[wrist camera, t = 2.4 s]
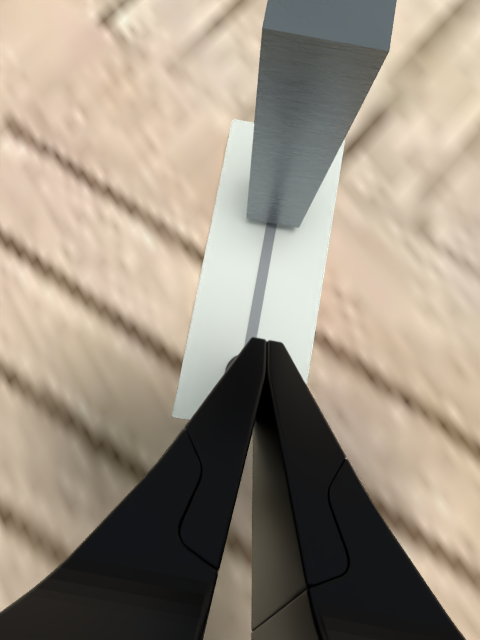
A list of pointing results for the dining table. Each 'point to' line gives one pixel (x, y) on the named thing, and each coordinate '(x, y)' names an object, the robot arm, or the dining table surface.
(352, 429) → the dining table surface
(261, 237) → the bolt plate
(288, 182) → the gray metal block
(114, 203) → the dining table surface
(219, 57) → the dining table surface
